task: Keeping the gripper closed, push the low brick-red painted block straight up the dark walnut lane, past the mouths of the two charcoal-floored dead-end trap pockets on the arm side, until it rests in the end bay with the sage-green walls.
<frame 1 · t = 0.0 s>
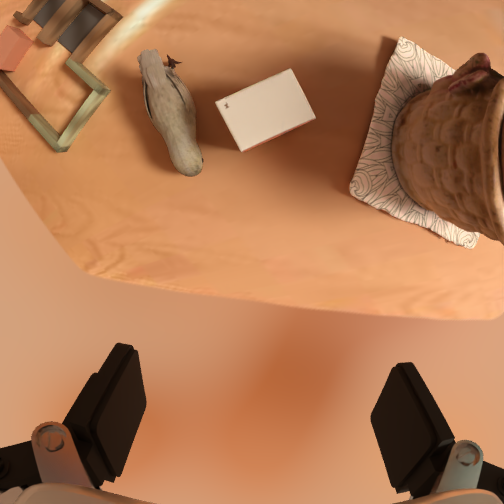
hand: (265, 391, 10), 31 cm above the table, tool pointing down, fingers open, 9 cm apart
small box: (263, 119, 36), on the table
cookie jar: (440, 147, 36), on the table
block: (17, 49, 31), on the table
decorative bird: (180, 116, 36), on the table
trap run: (35, 69, 32), on the table
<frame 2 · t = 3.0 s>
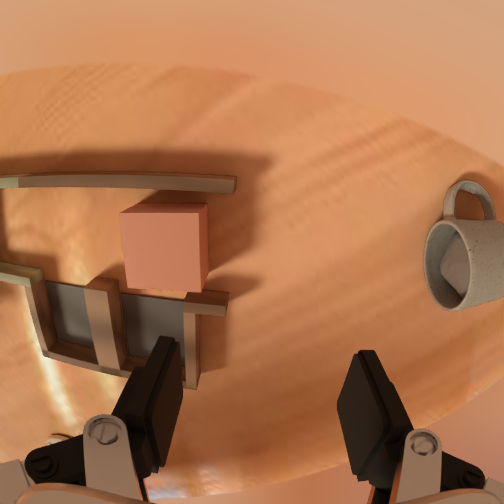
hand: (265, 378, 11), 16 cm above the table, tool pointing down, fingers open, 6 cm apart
block: (173, 237, 26), on the table
ceramic mug: (453, 234, 25), on the table
trap run: (91, 231, 25), on the table
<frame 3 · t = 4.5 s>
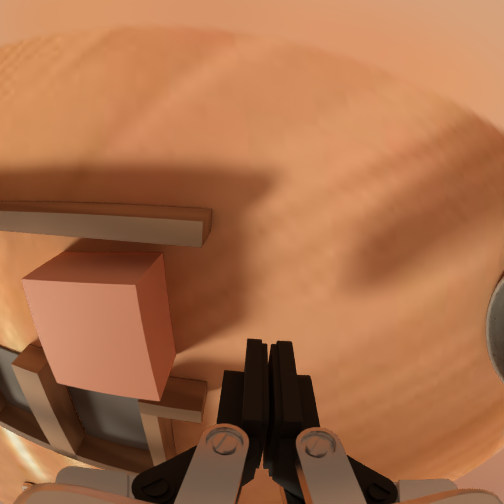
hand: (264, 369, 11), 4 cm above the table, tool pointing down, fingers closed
block: (118, 303, 16), on the table
trap run: (13, 286, 15), on the table
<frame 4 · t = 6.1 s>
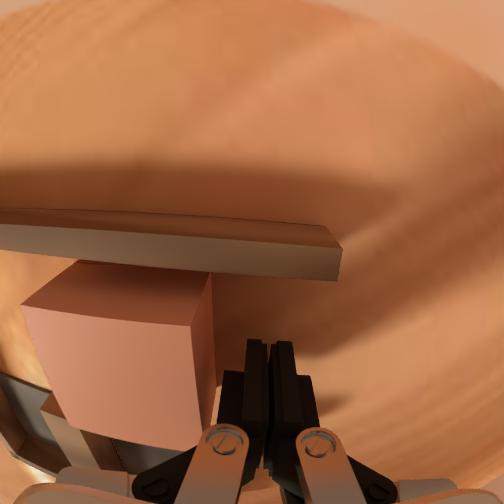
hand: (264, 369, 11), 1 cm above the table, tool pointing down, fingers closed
block: (146, 329, 13), on the table
trap run: (37, 316, 13), on the table
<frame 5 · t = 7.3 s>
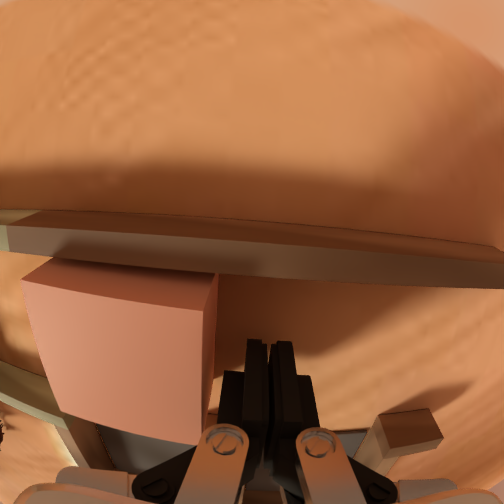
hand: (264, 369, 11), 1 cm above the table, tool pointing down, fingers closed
block: (146, 315, 12), on the table, touching gripper
trap run: (198, 345, 13), on the table
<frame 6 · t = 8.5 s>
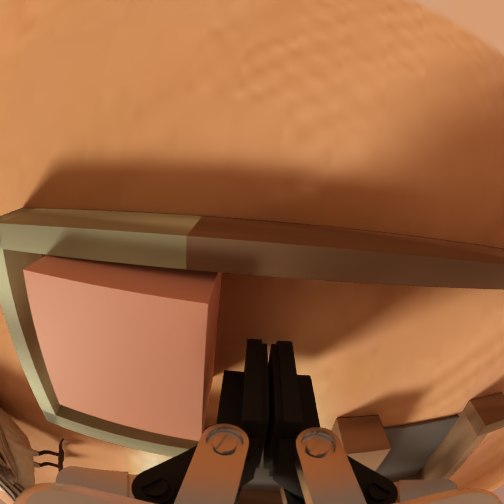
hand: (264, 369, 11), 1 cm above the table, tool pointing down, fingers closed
block: (148, 309, 12), on the table, touching gripper
trap run: (360, 353, 13), on the table
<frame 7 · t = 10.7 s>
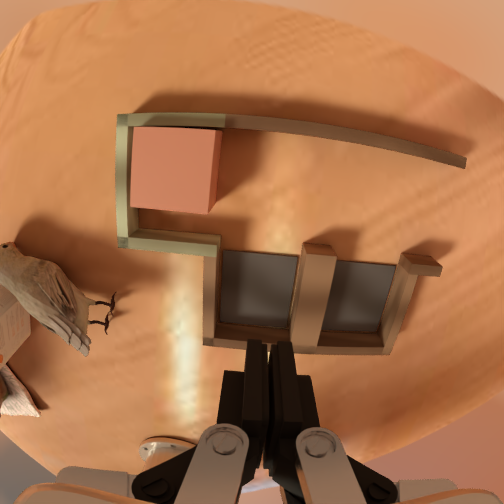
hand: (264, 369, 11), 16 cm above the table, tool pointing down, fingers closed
small box: (17, 302, 31), on the table
block: (183, 164, 24), on the table
decorative bird: (61, 274, 29), on the table
trap run: (310, 191, 25), on the table
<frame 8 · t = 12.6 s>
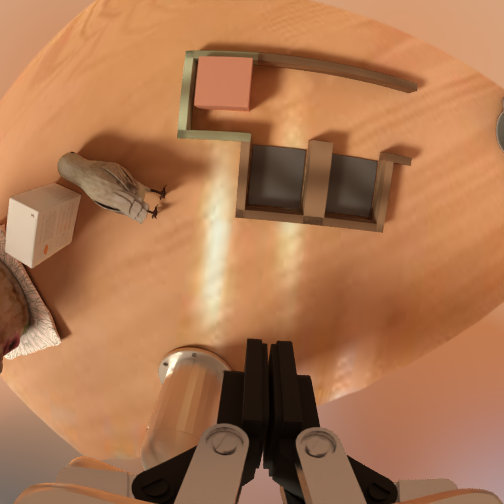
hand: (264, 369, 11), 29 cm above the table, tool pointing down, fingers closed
small box: (63, 212, 39), on the table
cookie jar: (4, 297, 45), on the table
block: (226, 87, 34), on the table
decorative bird: (117, 179, 38), on the table
trap run: (312, 105, 34), on the table
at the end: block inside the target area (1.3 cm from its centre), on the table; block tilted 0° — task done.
